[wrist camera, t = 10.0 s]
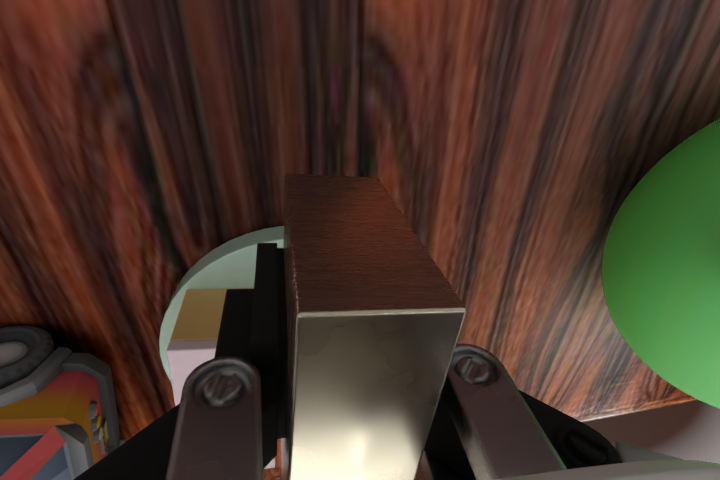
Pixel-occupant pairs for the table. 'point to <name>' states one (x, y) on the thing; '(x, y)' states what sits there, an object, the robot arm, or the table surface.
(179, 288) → the cake plate
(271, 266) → the robot arm
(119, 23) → the table surface
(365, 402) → the cake knife
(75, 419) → the toy car
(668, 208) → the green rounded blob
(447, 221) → the table surface
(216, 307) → the cake piece
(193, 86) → the table surface
